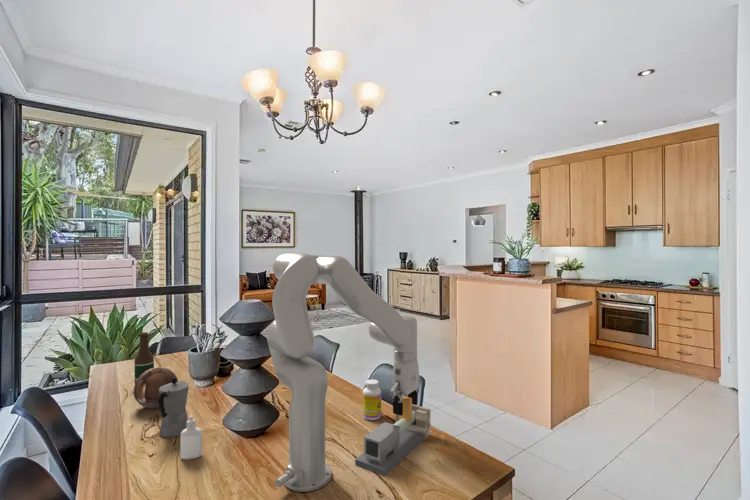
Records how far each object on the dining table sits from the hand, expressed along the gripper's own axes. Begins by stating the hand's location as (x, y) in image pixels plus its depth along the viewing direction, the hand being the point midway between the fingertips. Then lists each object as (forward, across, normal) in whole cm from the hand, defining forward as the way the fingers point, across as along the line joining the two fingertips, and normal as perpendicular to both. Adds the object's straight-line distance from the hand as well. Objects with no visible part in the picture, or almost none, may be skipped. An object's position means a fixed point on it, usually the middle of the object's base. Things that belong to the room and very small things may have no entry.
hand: (405, 408), depth 123 cm
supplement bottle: (+10, +8, +18) cm, 22 cm away
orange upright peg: (+6, -2, 0) cm, 6 cm away
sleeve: (+8, -14, 0) cm, 16 cm away
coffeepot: (+10, -38, +67) cm, 78 cm away
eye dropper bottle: (+10, -43, +48) cm, 65 cm away
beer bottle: (+10, -22, +119) cm, 122 cm away
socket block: (+10, +5, 0) cm, 11 cm away
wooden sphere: (+10, -30, +93) cm, 98 cm away
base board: (+10, -8, 0) cm, 13 cm away
